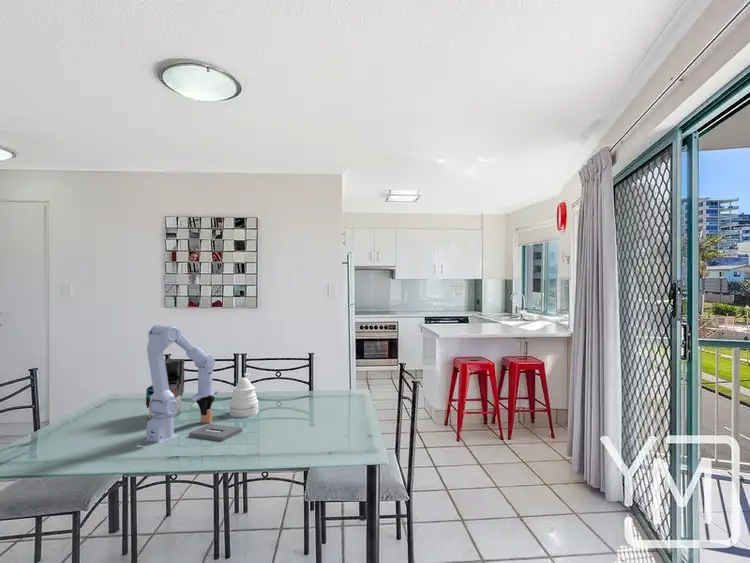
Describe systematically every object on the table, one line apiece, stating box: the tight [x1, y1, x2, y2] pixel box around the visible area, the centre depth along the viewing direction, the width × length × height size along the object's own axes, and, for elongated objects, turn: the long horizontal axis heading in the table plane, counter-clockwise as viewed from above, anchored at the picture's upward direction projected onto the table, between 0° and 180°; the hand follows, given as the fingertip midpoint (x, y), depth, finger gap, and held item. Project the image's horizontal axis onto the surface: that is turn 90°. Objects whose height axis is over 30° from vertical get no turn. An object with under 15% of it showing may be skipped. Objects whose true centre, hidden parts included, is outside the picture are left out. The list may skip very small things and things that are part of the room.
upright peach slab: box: [200, 409, 213, 424], centre depth 199 cm, size 1×5×6 cm, turn 68°
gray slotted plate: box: [188, 423, 243, 442], centre depth 184 cm, size 12×16×2 cm
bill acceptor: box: [145, 358, 185, 421], centre depth 208 cm, size 10×23×25 cm, turn 8°
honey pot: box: [229, 372, 259, 418], centre depth 215 cm, size 13×13×18 cm
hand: (205, 414), depth 199 cm, fingers closed on upright peach slab, 1 cm apart
